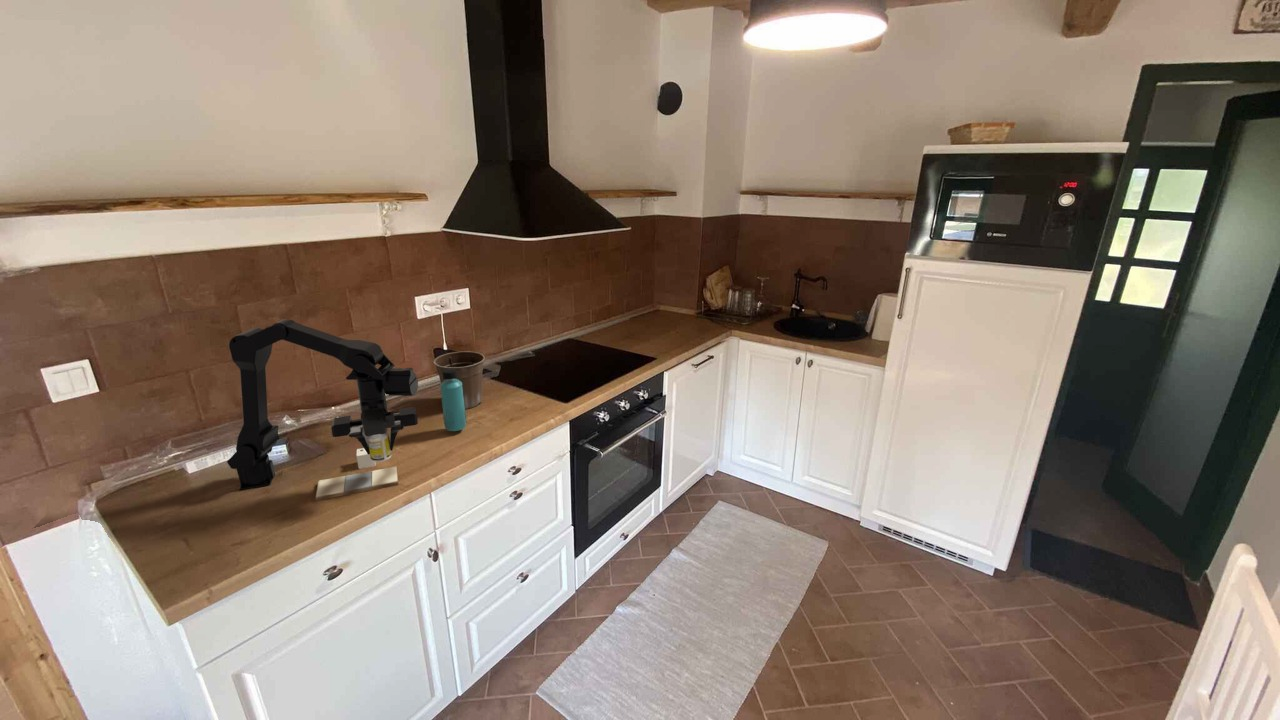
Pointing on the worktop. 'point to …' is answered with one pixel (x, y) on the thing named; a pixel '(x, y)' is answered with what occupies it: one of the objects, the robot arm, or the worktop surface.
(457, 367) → the plant pot
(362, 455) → the die
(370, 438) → the supplement bottle
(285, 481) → the worktop surface
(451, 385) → the beverage bottle
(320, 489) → the board
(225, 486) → the worktop surface
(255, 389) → the robot arm
